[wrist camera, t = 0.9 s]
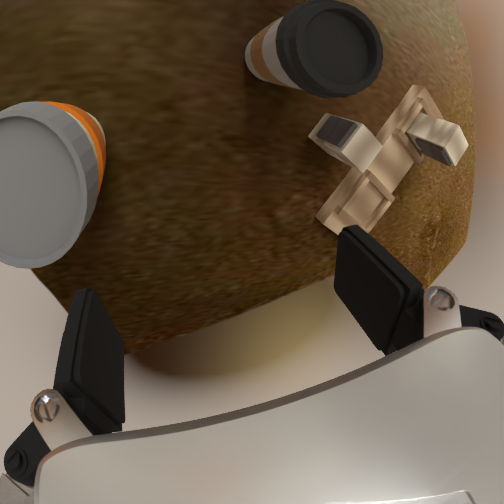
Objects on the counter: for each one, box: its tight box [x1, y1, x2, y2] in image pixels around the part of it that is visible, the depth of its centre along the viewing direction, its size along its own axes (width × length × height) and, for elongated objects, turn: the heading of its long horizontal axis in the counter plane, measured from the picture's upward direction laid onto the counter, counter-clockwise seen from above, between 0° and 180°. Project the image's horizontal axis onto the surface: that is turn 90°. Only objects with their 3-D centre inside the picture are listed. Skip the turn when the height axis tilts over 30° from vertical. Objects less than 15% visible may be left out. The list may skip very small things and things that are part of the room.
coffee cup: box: [245, 0, 383, 98], centre depth 22 cm, size 8×8×15 cm
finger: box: [308, 113, 383, 173], centre depth 31 cm, size 5×4×8 cm
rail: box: [315, 85, 468, 235], centre depth 35 cm, size 26×7×10 cm, turn 144°
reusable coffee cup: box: [0, 102, 106, 269], centre depth 21 cm, size 13×13×15 cm
